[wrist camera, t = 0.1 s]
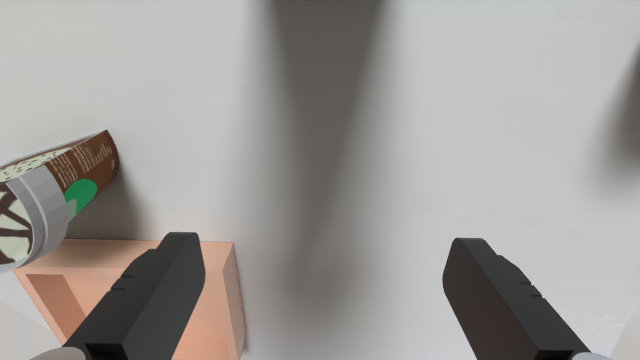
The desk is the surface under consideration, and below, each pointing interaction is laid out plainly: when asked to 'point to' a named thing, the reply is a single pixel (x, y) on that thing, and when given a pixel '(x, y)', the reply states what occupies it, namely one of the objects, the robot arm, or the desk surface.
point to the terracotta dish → (107, 266)
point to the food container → (50, 195)
